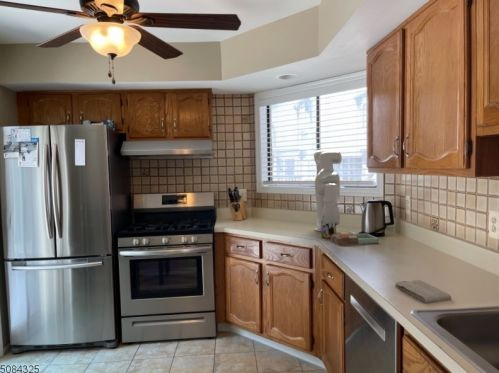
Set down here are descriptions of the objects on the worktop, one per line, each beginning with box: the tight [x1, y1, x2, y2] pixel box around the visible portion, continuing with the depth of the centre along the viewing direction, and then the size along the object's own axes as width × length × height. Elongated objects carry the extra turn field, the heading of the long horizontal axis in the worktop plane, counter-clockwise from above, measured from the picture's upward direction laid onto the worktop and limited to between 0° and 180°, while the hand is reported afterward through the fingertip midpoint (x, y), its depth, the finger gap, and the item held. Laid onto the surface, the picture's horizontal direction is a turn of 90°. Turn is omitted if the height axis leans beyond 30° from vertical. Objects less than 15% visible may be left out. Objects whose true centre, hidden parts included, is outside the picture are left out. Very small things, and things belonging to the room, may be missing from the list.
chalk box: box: [321, 221, 337, 239], centre depth 233 cm, size 9×9×15 cm
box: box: [357, 233, 379, 245], centre depth 218 cm, size 15×13×3 cm
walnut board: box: [329, 233, 359, 246], centre depth 216 cm, size 15×12×4 cm
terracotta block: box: [338, 231, 350, 238], centre depth 213 cm, size 4×4×2 cm
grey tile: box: [349, 231, 358, 237], centre depth 220 cm, size 4×4×2 cm
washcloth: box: [394, 279, 452, 304], centre depth 132 cm, size 12×18×3 cm, turn 13°
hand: (331, 234), depth 211 cm, fingers closed
